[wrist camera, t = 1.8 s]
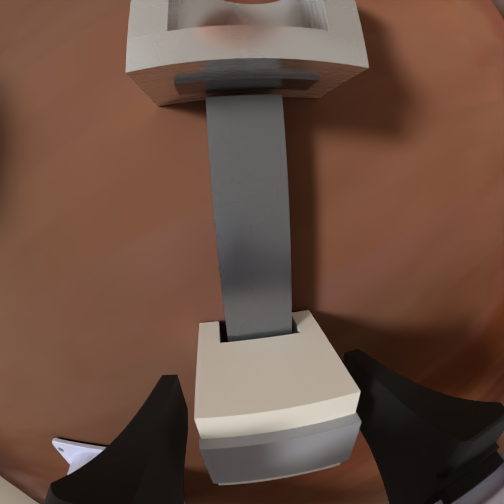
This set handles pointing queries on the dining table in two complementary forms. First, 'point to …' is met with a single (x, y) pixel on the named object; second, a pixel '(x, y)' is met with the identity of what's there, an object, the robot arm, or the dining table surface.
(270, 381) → the block
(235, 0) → the button
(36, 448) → the dining table surface
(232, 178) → the rail
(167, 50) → the button housing
